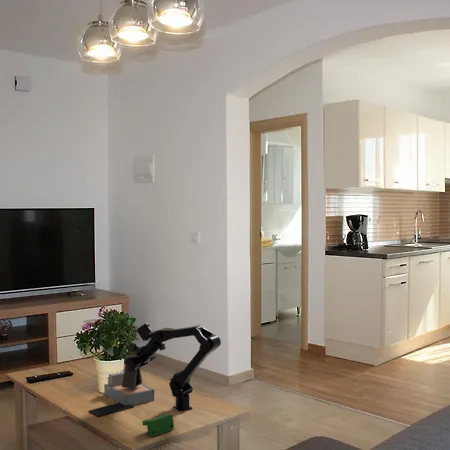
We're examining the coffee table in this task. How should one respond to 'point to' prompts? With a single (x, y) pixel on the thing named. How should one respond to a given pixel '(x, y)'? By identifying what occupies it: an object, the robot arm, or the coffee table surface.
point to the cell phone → (110, 409)
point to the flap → (116, 383)
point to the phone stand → (131, 378)
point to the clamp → (159, 424)
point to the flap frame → (129, 395)
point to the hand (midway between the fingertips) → (129, 370)
